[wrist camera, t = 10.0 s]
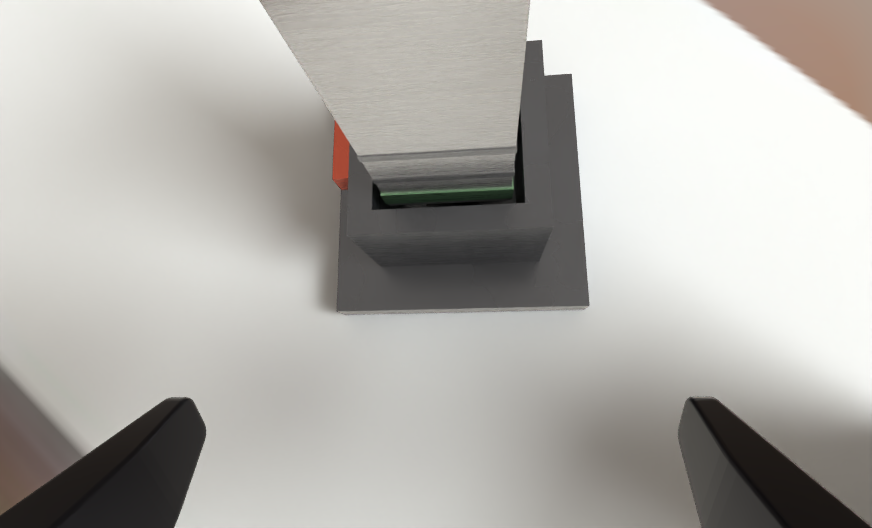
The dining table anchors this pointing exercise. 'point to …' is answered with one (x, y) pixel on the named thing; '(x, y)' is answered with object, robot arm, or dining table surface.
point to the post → (418, 88)
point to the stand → (473, 226)
